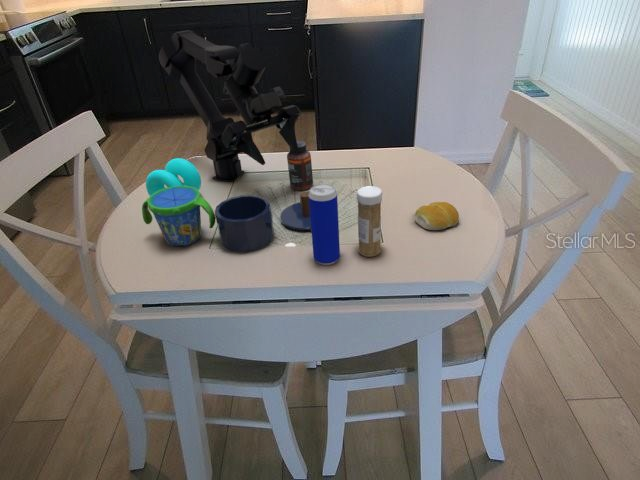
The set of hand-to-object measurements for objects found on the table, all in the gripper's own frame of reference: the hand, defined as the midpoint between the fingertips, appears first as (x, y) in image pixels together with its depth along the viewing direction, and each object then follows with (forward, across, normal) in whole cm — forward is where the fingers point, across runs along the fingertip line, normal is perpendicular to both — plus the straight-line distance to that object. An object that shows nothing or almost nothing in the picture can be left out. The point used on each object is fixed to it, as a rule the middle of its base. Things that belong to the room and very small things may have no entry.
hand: (280, 157), depth 102 cm
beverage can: (+25, -8, -7) cm, 27 cm away
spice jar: (+28, 0, -10) cm, 30 cm away
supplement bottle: (+5, +10, +13) cm, 17 cm away
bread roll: (+30, +18, -12) cm, 37 cm away
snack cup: (+5, -24, +13) cm, 28 cm away
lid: (+14, 0, +3) cm, 14 cm away
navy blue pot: (+12, -14, +6) cm, 19 cm away
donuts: (-7, -16, +25) cm, 31 cm away
